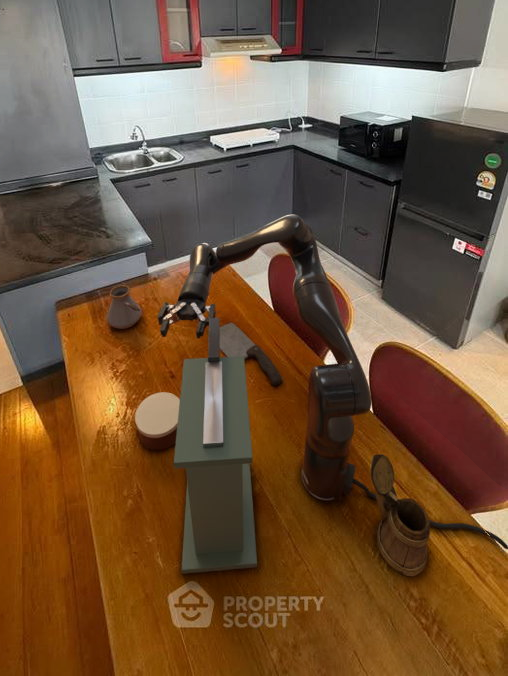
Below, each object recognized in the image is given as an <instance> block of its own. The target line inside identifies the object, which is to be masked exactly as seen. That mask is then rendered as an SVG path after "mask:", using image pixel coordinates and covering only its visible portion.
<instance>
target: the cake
mask: <svg viewBox="0 0 508 676" xmlns="http://www.w3.org/2000/svg"><path fill="white" fill-rule="evenodd" d="M179 404H180V397H178V396H177V395H175V394H173V393H171V392H168V391H167V392H166V391H161V392H155V393H153V394H150V395H148V396H147V397H146V398H144V399H143V400H142V401H141V402H140V404H139V405H138V407H137V408H136V411H135V414H134V415H135V416H134V421H135V425H136V428H137V432H138V437H139V440H140V443H141V444H142V445H143V446H144V447H145V448H146V449H149V450H151V451H162V450H166V449H169V448H170V447H172V446H173V445H174V444H176V434H177V424H178V414H179Z"/></svg>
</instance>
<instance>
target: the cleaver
mask: <svg viewBox="0 0 508 676" xmlns="http://www.w3.org/2000/svg"><path fill="white" fill-rule="evenodd" d="M219 330H220V351H221V352H222V354H224V355H225V357H234V356H244V360H247V359H248V358H249V359H250V358H254V359H256V360H257V362H258V365H259V368H260V369H261V371H262V372H263V373H264V374H265V375H267V377H268V378H269V381H270V383H271V385H272V386H273V387H277V386H279V385H281V384H282V383H283V377H282V375H281V373H280V371H279V370H278V369H277V367H276V365H275V364H274V363H273V361H272V360H271V359H270V357H269V356H268V354H267V353H266V352H265V351H264V350H263V349H262V348H261V346H259V345H258V344H255V343H254V342H253V341H252V340H251V338H249V337H248V336H247V335H246V334H245V333H244V331H243V330H241V329H240V328H239V326H237V325H236V324H235V323H234V322H231V321H230V322H229V323H226V324H224V325H222V326H219Z"/></svg>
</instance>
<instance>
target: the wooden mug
mask: <svg viewBox="0 0 508 676" xmlns="http://www.w3.org/2000/svg"><path fill="white" fill-rule="evenodd" d="M370 479H371V482H372V484H373V487H374V489H375V491H376V492H375V495H376V500H377V501H376V500H375V501H376V503H377V507H378V509H379V512H380V515H381V521H380V523H378V526H377V531H376V543H377V548H378V551H379V552H380V554H381V556H382V558H383V560H384V561H385V562H386V563H387V564H388V565H389V566H390V567H391V568H392V569H393V570H395V571H397V573H400V574H401V575H404V576H406V577H416V576H418V575H419V574H420V573H422V572H423V571H424V569H425V567H426V564H427V559H428V550H427V548H428V541H429V539H430V536H431V526H430V523H429V520H430V519H429V515H428V513H427V511H426V509H425V508H424V507H423V506H422V505H421V504H420V503H419V502H418V501H416V499H413V498H410V497H409V498H408V497H407V498H406V497H403V498H399V497H398V495H397V492H396V490H395V487H394V483H395V470H394V467H393V464H392V462H391V461H390V459H389V458H388V456H387V455H385V454H381V453H380V454H373V456H372V459H371V464H370ZM384 501H386V503H387V505H386V504H385V502H384Z"/></svg>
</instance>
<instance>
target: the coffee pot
mask: <svg viewBox="0 0 508 676" xmlns="http://www.w3.org/2000/svg"><path fill="white" fill-rule="evenodd" d="M130 293H131V288H130V287H129V286H128V285H125V284H119V285H116V286H114V287H113V288H111V290H110V291H109V297H110V298H111V302H110V303H109V304H110V305H109V308H108V311H107V314H106V321H107V323H108V324H109V326H111V327H112V328H115V329H120V330H124V329H128V328H131V327H133V326H134V325H135V324H136V323H137V322H139V320H140V318H141V317H142V315H143V314H144V311H143V310H142V309H141V306H140V305H139V304H138V303H137V302H136V301H135V299H134V298H133V297H132V296H131V295H130Z"/></svg>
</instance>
